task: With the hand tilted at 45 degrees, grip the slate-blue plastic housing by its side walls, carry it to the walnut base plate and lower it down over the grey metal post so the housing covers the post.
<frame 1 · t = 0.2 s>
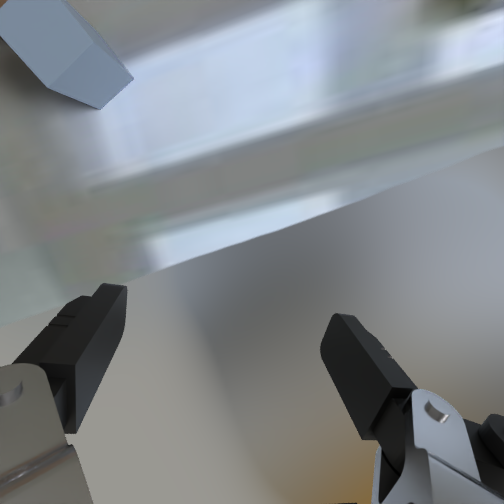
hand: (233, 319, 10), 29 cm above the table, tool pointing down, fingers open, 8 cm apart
housing: (98, 72, 31), on the table
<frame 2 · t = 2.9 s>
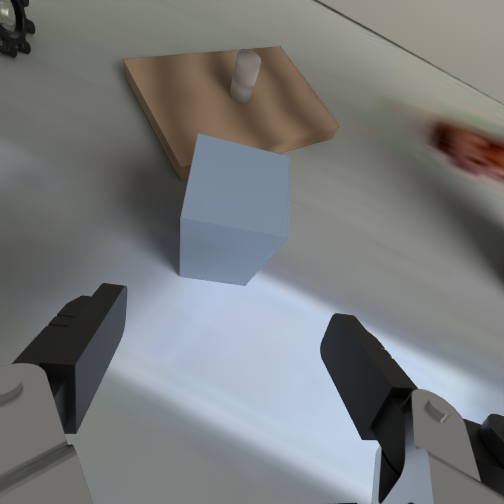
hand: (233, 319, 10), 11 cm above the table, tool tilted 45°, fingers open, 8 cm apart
housing: (217, 251, 23), on the table
post plate: (236, 110, 31), on the table
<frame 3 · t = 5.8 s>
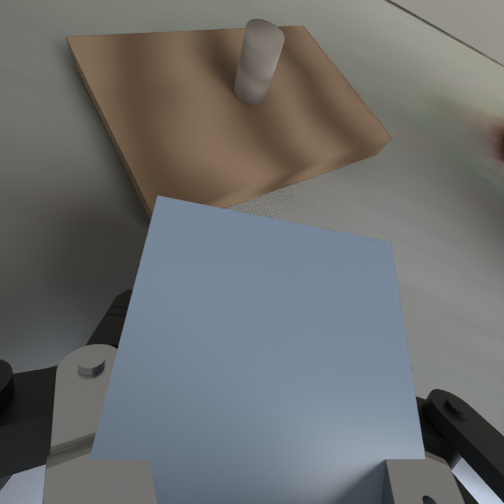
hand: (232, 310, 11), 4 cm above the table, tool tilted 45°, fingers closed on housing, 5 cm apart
housing: (214, 357, 14), on the table, touching gripper
post plate: (243, 116, 21), on the table
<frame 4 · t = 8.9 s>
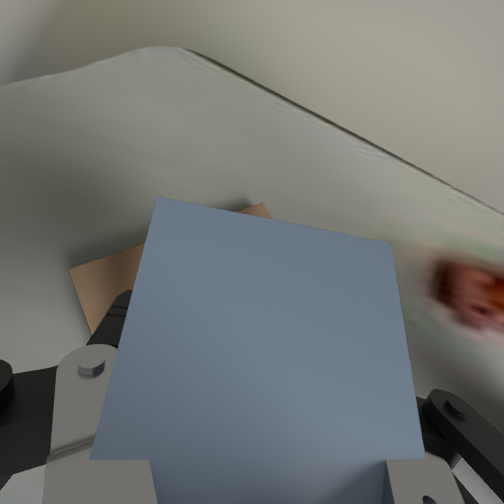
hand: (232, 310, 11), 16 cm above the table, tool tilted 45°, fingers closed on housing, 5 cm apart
housing: (214, 358, 14), point 12 cm above the table, touching gripper
post plate: (207, 297, 27), on the table
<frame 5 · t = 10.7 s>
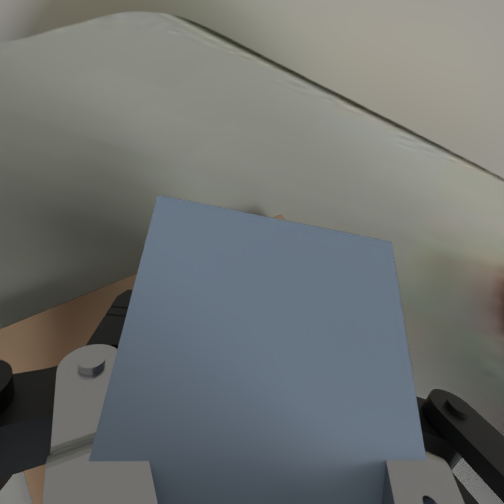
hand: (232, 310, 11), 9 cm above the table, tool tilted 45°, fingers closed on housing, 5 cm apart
housing: (214, 357, 14), point 5 cm above the table, touching gripper
post plate: (208, 357, 18), on the table
when the fingers open (7 cm above the table, at t = 12.0 s): housing stays where it is, resting on post plate.
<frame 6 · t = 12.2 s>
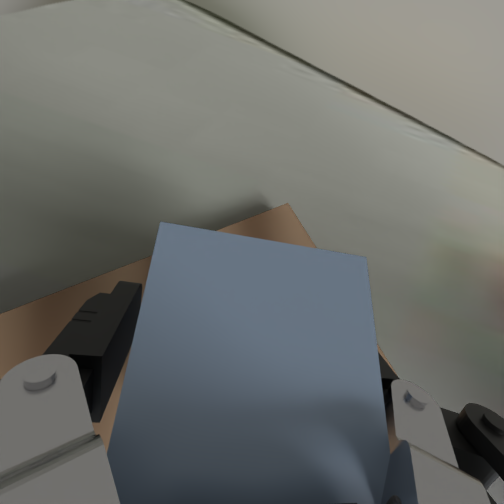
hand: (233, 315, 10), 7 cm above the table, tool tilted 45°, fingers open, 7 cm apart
housing: (213, 358, 15), point 2 cm above the table, touching post plate
post plate: (208, 358, 16), on the table
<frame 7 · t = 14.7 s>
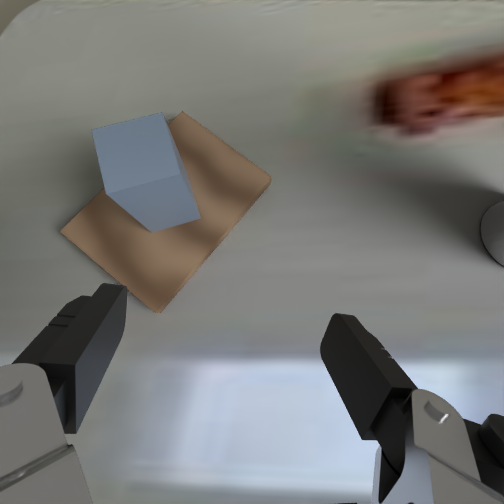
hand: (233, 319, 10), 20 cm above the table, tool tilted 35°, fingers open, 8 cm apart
housing: (170, 203, 30), point 2 cm above the table, touching post plate
post plate: (174, 209, 32), on the table
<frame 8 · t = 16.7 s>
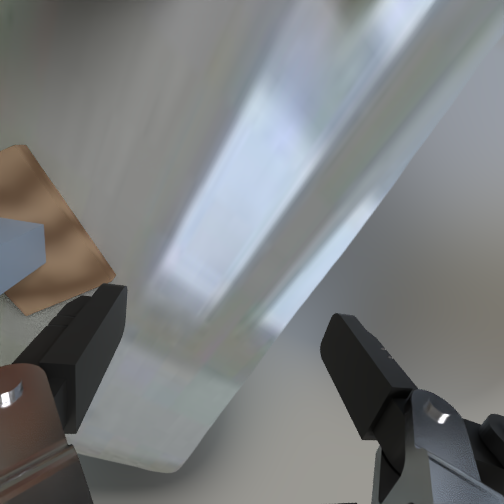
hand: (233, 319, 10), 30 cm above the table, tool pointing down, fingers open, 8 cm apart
housing: (21, 240, 35), point 2 cm above the table, touching post plate
post plate: (30, 236, 37), on the table
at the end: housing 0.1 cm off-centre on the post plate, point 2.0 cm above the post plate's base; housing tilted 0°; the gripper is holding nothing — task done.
